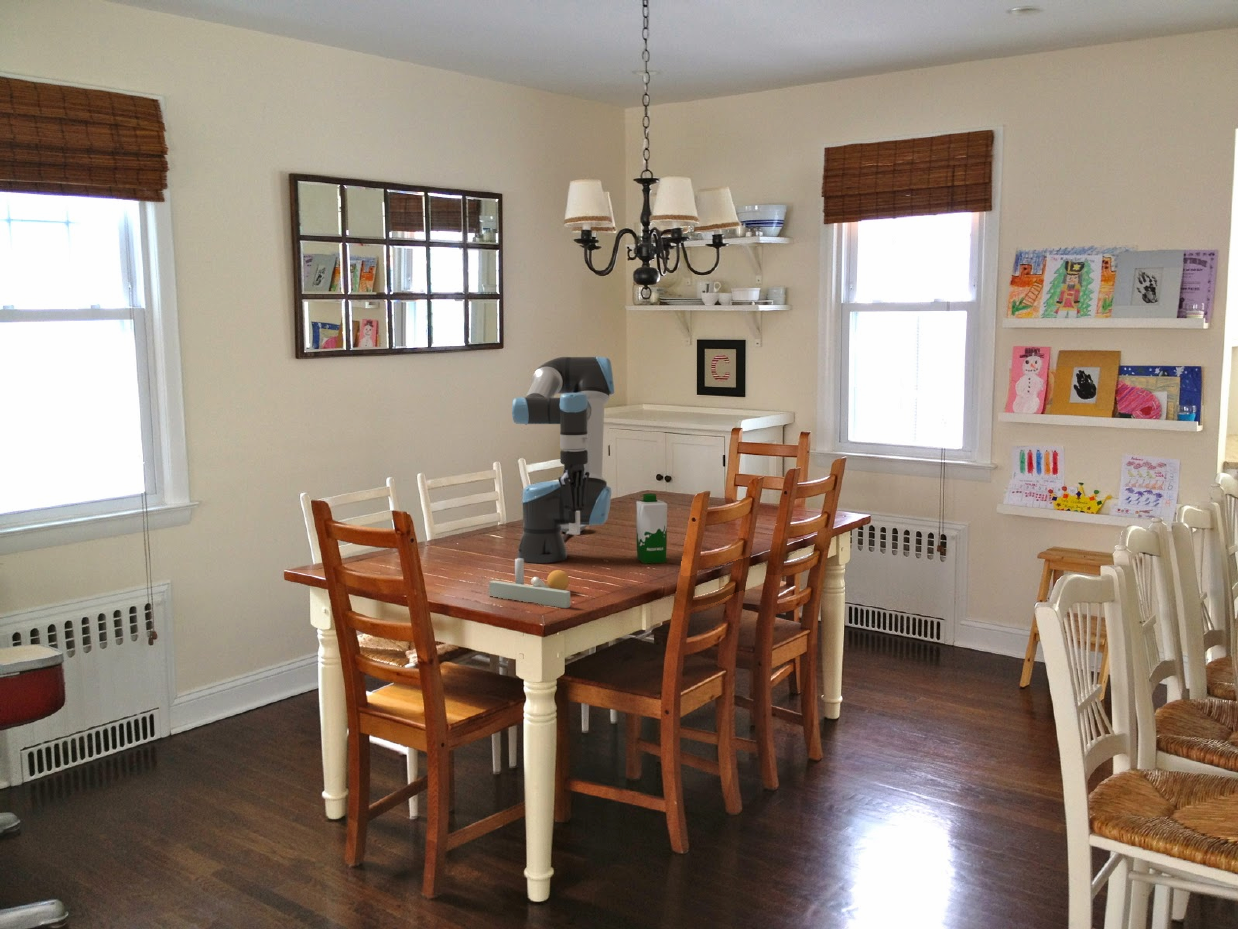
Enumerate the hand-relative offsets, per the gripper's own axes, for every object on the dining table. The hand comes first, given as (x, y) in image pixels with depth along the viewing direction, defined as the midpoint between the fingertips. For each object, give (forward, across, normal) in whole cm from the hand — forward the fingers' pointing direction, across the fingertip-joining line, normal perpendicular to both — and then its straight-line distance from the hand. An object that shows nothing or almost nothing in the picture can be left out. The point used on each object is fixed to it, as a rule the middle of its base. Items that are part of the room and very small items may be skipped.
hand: (574, 534), depth 305 cm
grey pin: (+14, -14, +9) cm, 22 cm away
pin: (+13, -15, 0) cm, 19 cm away
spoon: (+15, +51, +35) cm, 63 cm away
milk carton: (+14, +35, -6) cm, 38 cm away
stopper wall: (+14, -23, 0) cm, 27 cm away
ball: (+11, -11, -1) cm, 15 cm away
